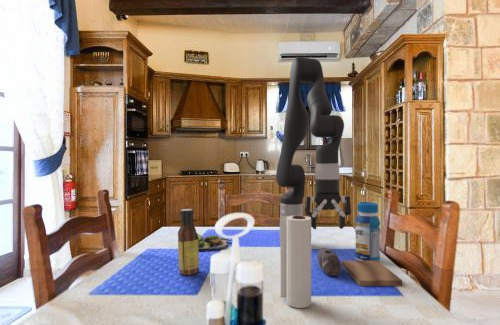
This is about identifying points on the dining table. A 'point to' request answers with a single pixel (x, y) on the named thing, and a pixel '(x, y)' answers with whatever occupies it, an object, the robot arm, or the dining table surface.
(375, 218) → the beverage bottle
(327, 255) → the perforated stone tool
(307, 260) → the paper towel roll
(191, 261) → the sauce bottle
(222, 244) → the salad plate
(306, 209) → the robot arm
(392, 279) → the walnut board
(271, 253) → the dining table surface
